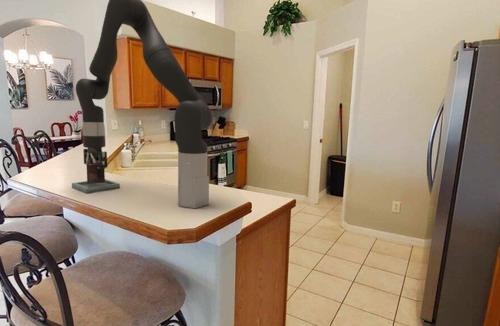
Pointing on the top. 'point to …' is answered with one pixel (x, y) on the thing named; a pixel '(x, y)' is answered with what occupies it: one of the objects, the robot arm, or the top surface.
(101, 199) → the top surface
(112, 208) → the top surface
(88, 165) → the box
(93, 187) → the tray
